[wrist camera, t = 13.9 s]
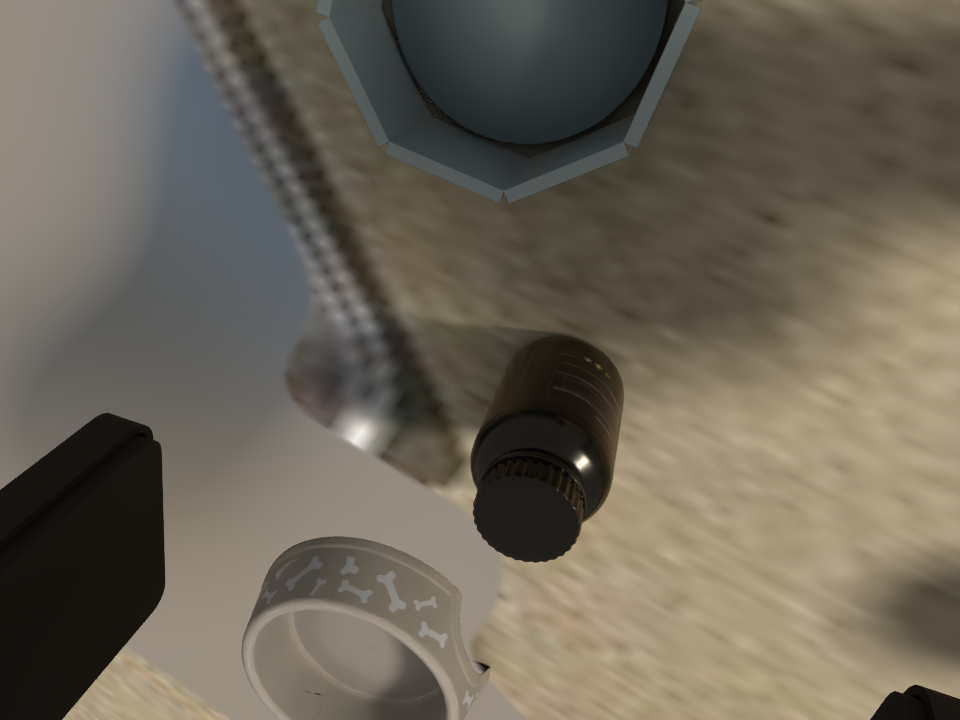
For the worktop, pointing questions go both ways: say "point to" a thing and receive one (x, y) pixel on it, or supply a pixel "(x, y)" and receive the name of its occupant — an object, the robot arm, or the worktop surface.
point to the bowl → (503, 82)
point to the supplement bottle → (547, 448)
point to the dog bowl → (358, 636)
